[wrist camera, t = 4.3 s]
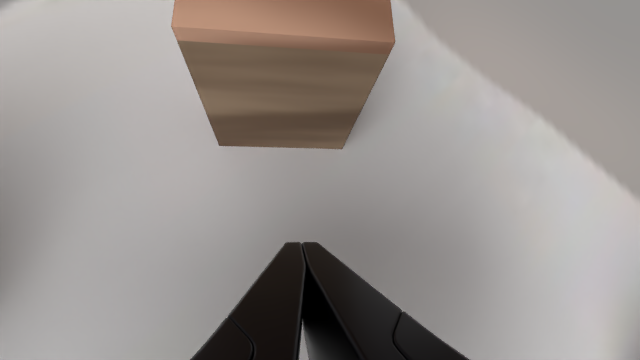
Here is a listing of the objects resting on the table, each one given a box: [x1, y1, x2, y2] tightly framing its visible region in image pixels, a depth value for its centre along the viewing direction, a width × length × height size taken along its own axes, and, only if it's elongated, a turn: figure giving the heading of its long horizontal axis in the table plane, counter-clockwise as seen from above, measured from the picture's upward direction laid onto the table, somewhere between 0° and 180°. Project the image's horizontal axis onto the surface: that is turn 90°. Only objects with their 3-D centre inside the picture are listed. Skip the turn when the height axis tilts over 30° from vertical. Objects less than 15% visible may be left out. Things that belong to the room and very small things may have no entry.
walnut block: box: [171, 0, 395, 149], centre depth 15 cm, size 4×7×9 cm, turn 92°
